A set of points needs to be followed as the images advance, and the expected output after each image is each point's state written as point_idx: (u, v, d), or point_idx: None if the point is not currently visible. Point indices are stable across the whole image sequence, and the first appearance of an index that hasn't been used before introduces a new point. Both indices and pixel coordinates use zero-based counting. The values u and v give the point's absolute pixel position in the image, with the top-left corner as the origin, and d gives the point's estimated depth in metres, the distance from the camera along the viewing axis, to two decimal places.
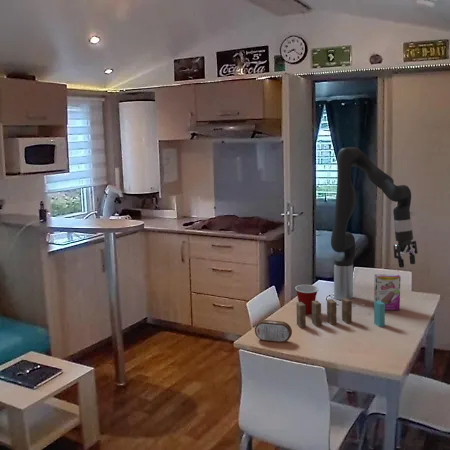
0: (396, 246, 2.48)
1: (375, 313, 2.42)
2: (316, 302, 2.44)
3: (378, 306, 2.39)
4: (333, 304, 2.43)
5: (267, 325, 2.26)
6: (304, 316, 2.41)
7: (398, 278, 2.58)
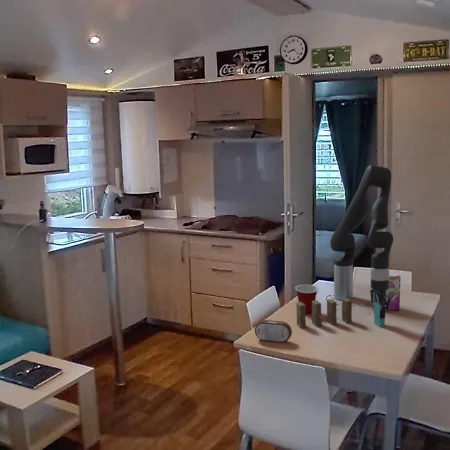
0: None
1: (375, 313, 2.42)
2: (316, 302, 2.44)
3: (379, 306, 2.39)
4: (333, 304, 2.43)
5: (267, 325, 2.26)
6: (304, 316, 2.41)
7: (398, 278, 2.58)
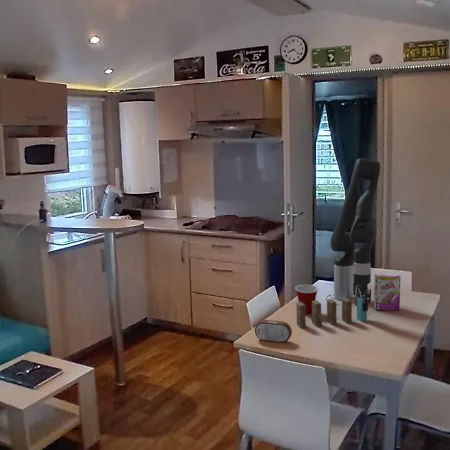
0: None
1: (358, 308, 2.49)
2: (316, 302, 2.44)
3: (361, 302, 2.46)
4: (333, 304, 2.43)
5: (267, 325, 2.26)
6: (304, 316, 2.41)
7: (398, 278, 2.58)
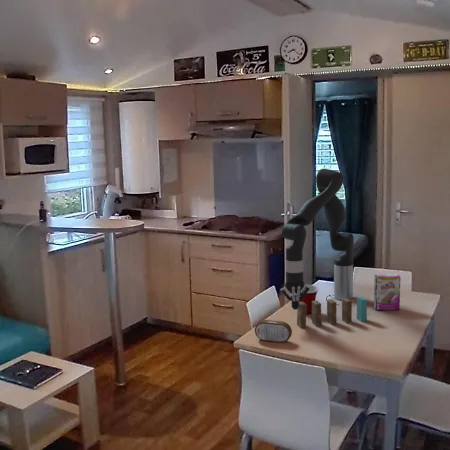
0: (281, 291, 2.41)
1: (358, 308, 2.49)
2: (316, 302, 2.44)
3: (361, 302, 2.46)
4: (333, 304, 2.43)
5: (267, 325, 2.26)
6: (304, 316, 2.42)
7: (398, 278, 2.58)
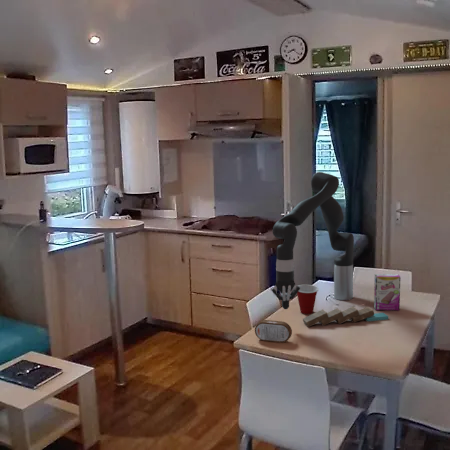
0: (272, 290, 2.38)
1: (374, 314, 2.51)
2: None
3: (385, 315, 2.49)
4: (356, 312, 2.46)
5: (267, 325, 2.26)
6: (318, 321, 2.43)
7: (398, 278, 2.58)
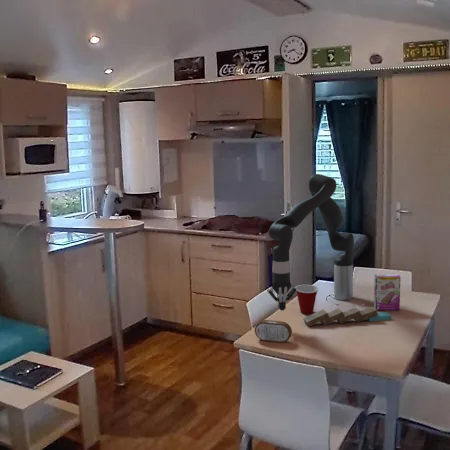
0: (268, 292, 2.39)
1: None
2: None
3: (387, 315, 2.49)
4: (358, 313, 2.45)
5: (267, 325, 2.26)
6: (318, 320, 2.43)
7: (398, 278, 2.58)
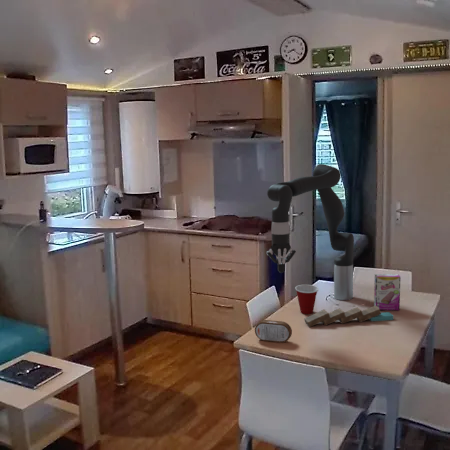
0: (267, 254, 2.36)
1: None
2: None
3: (390, 315, 2.49)
4: (360, 313, 2.46)
5: (267, 325, 2.26)
6: (319, 321, 2.43)
7: (398, 278, 2.58)
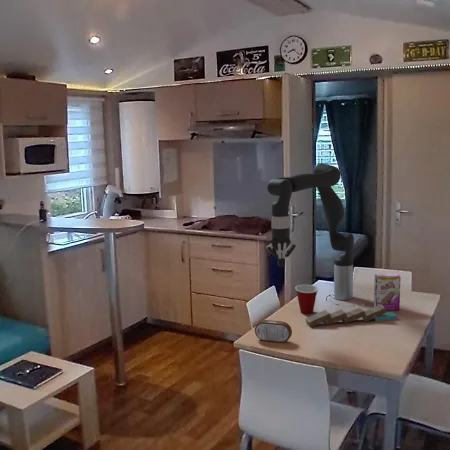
0: (267, 248, 2.36)
1: None
2: None
3: (393, 315, 2.49)
4: (363, 313, 2.46)
5: (267, 325, 2.26)
6: (320, 321, 2.43)
7: (398, 278, 2.58)
